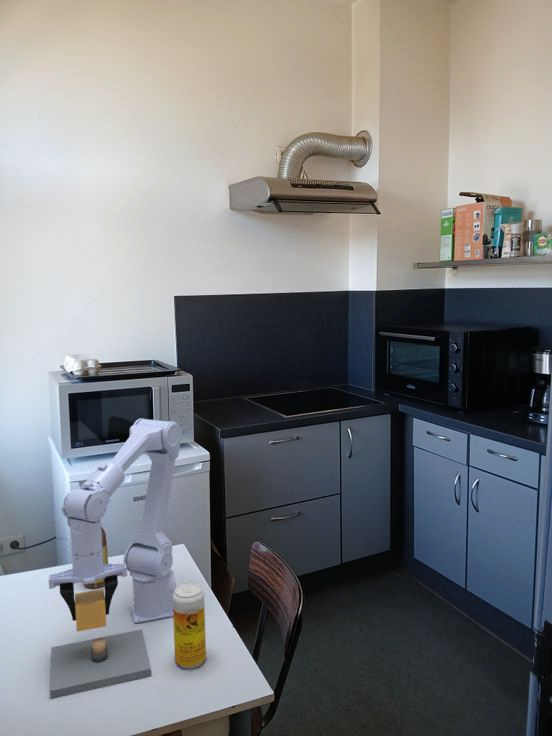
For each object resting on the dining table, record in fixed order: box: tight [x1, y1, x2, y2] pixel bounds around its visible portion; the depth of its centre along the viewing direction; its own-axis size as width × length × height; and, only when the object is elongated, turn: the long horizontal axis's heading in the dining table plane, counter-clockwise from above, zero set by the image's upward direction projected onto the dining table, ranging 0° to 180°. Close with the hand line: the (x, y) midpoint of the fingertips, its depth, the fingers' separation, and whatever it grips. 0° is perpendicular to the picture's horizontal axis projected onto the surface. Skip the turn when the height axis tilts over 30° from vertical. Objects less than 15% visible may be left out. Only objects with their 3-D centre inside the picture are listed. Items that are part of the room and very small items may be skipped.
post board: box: [49, 629, 152, 699], centre depth 117 cm, size 18×14×5 cm
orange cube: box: [74, 588, 107, 633], centre depth 118 cm, size 6×6×5 cm
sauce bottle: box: [84, 526, 109, 589], centre depth 148 cm, size 6×6×20 cm
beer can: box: [172, 582, 207, 670], centre depth 117 cm, size 6×6×15 cm
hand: (90, 615), depth 118 cm, fingers closed on orange cube, 5 cm apart
